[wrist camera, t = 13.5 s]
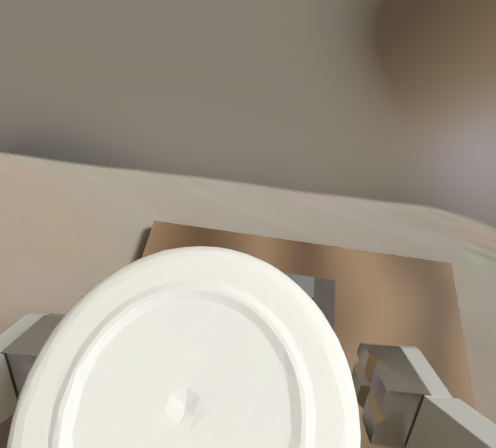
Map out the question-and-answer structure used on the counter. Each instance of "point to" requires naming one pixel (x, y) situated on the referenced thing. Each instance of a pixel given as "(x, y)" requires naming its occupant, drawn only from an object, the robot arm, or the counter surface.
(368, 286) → the socket block
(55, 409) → the sprinkles bottle
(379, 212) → the counter surface
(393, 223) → the counter surface
